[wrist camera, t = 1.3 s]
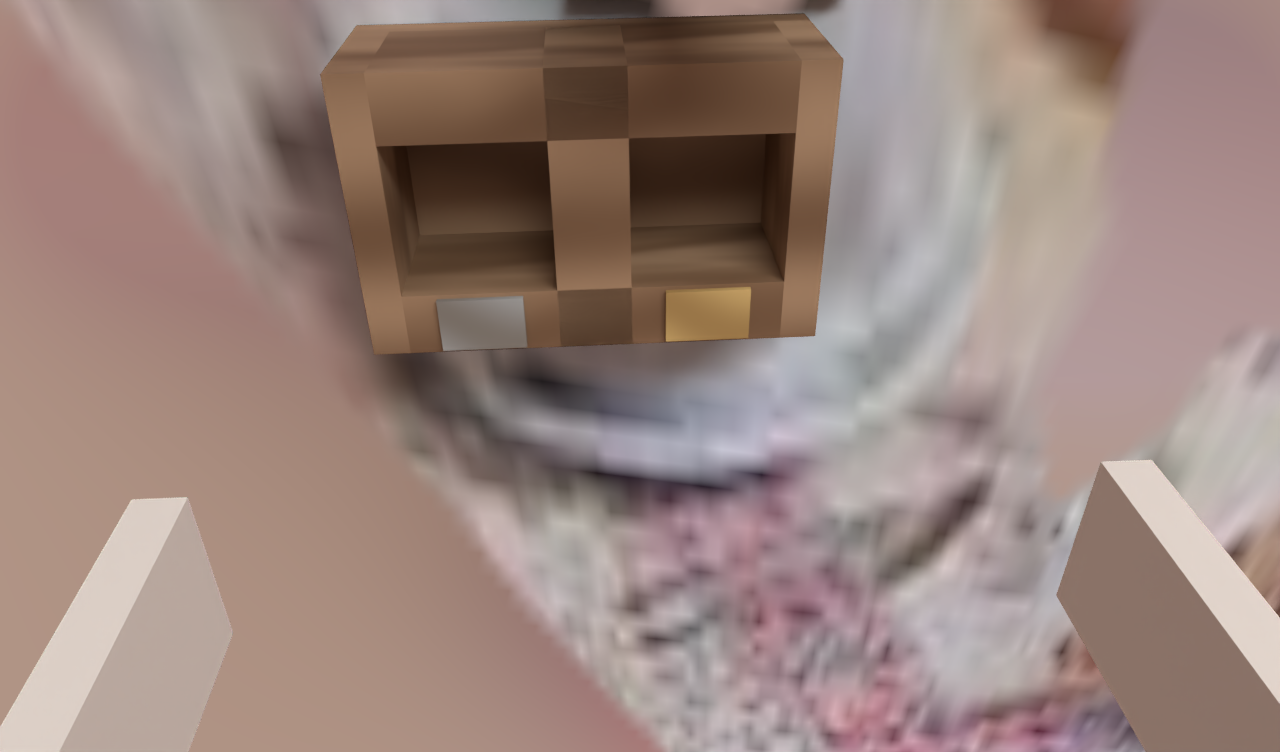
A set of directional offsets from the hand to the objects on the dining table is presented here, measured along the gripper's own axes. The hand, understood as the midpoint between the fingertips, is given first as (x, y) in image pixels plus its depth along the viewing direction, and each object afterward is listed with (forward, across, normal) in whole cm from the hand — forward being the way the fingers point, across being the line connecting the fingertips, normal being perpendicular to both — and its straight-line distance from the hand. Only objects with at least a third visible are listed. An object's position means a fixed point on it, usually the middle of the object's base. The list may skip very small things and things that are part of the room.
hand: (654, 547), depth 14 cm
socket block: (+25, -1, -3) cm, 26 cm away
